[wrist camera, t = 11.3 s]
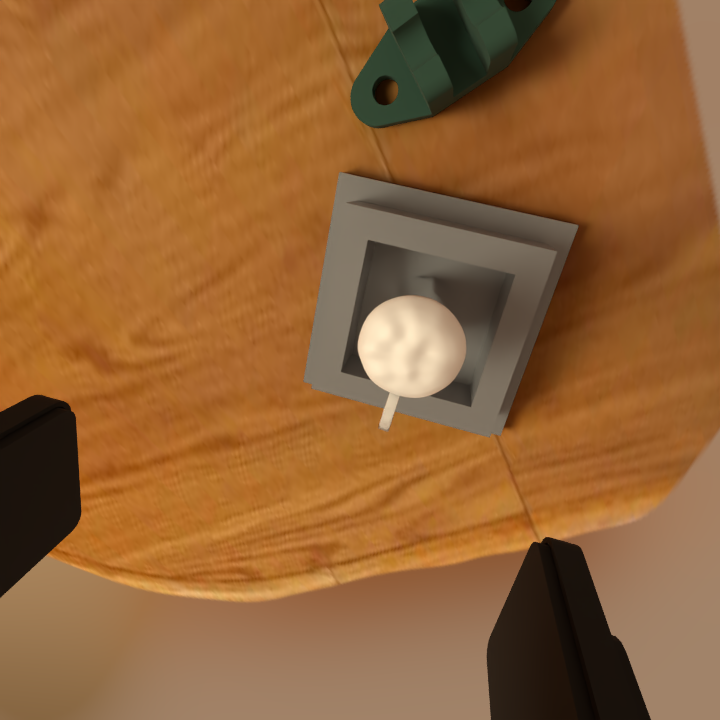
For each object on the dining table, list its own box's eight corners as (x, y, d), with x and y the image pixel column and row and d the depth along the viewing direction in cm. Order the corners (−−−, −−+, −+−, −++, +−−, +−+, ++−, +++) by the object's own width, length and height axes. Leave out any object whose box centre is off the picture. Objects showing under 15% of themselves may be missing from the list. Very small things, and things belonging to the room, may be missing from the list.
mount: (534, -73, 21) (555, -143, 17) (573, 23, 22) (604, -19, 18) (337, 76, 25) (311, 52, 20) (379, 153, 26) (362, 146, 21)
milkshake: (371, 338, 29) (330, 411, 19) (398, 253, 26) (368, 290, 17) (441, 362, 28) (434, 449, 19) (475, 279, 26) (485, 331, 17)
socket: (343, 172, 26) (325, 170, 23) (574, 224, 25) (594, 230, 21) (307, 376, 31) (288, 401, 28) (499, 427, 30) (504, 461, 26)
